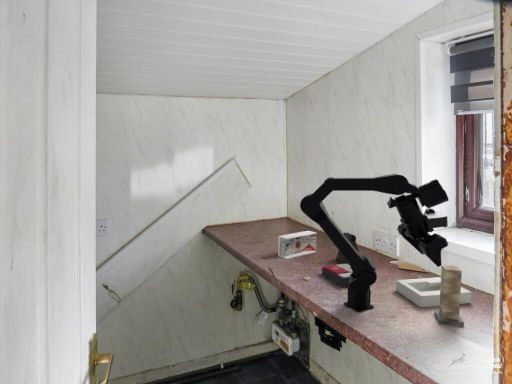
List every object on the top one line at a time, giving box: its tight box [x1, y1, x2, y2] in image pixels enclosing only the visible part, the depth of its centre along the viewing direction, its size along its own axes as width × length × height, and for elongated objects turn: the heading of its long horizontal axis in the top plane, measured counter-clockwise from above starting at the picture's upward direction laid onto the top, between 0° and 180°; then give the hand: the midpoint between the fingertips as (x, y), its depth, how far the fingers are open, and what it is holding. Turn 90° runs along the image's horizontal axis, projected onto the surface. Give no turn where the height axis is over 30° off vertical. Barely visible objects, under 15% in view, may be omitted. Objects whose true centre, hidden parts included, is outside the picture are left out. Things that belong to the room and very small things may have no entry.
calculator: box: [321, 263, 353, 289], centre depth 131 cm, size 11×4×15 cm
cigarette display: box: [277, 230, 318, 260], centre depth 163 cm, size 20×6×9 cm, turn 125°
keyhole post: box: [433, 264, 465, 327], centre depth 98 cm, size 6×6×15 cm
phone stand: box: [335, 232, 360, 265], centre depth 152 cm, size 9×6×12 cm, turn 106°
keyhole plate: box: [395, 276, 472, 308], centre depth 115 cm, size 17×14×4 cm
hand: (431, 259), depth 104 cm, fingers open, 9 cm apart
